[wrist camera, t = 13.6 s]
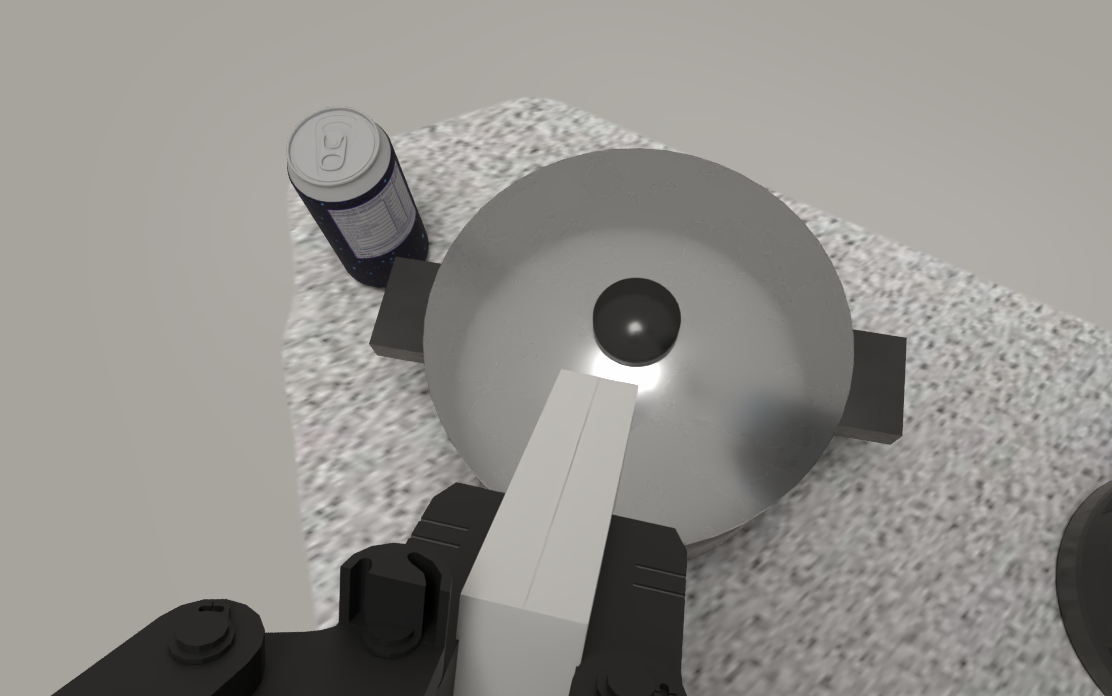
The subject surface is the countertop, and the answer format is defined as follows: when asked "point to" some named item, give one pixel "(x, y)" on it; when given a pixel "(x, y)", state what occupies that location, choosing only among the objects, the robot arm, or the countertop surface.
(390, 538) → the countertop surface
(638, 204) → the lid
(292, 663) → the robot arm
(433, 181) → the countertop surface
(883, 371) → the cooker pot
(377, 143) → the beverage can
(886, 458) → the countertop surface
